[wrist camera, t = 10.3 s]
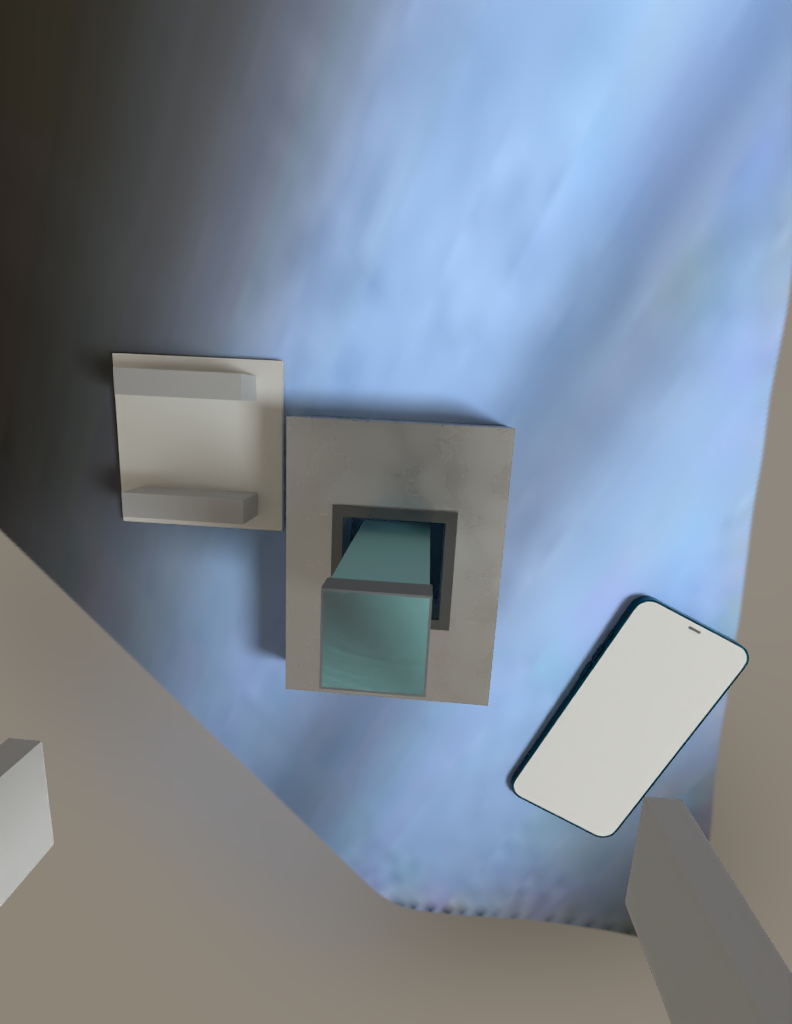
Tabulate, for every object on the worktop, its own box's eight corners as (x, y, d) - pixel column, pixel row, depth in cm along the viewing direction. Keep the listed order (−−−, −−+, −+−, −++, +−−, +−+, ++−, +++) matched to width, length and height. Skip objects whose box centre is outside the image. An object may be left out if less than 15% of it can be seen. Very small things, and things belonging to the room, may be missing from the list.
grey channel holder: (116, 353, 30) (84, 348, 27) (284, 361, 29) (268, 356, 26) (127, 519, 32) (98, 530, 29) (283, 529, 31) (269, 541, 28)
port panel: (300, 415, 30) (285, 416, 26) (506, 426, 29) (515, 428, 26) (298, 663, 33) (284, 690, 30) (482, 678, 32) (488, 707, 29)
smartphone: (604, 831, 35) (748, 646, 31) (608, 843, 34) (757, 653, 30) (503, 780, 34) (636, 587, 31) (504, 790, 34) (641, 593, 30)
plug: (362, 517, 31) (320, 588, 19) (431, 522, 30) (432, 596, 19) (360, 583, 32) (319, 688, 20) (427, 587, 31) (425, 697, 20)
